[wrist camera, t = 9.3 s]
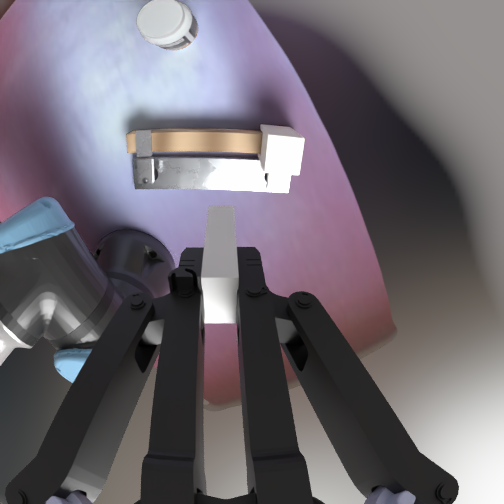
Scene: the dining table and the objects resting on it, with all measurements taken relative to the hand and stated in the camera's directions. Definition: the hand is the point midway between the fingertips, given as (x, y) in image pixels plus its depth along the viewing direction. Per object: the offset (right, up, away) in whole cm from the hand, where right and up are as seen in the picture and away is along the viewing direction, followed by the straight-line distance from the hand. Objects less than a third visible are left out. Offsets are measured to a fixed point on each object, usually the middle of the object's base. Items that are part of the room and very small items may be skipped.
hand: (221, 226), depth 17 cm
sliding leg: (+5, +12, +19) cm, 23 cm away
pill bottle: (-8, +26, +9) cm, 29 cm away
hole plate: (-4, +10, +21) cm, 23 cm away
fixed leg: (-12, +12, +17) cm, 24 cm away
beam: (-3, +14, +18) cm, 23 cm away
